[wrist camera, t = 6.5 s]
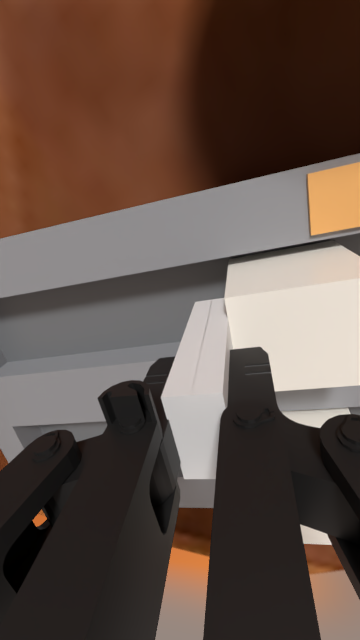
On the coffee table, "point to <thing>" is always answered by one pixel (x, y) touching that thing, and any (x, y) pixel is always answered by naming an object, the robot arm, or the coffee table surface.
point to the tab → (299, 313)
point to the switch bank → (148, 295)
